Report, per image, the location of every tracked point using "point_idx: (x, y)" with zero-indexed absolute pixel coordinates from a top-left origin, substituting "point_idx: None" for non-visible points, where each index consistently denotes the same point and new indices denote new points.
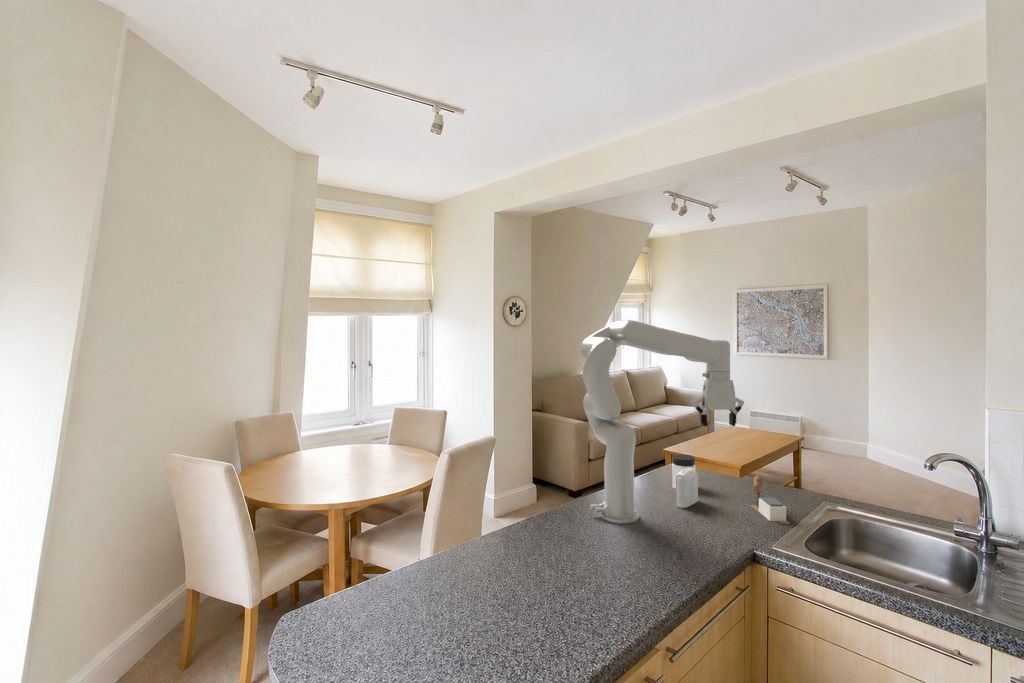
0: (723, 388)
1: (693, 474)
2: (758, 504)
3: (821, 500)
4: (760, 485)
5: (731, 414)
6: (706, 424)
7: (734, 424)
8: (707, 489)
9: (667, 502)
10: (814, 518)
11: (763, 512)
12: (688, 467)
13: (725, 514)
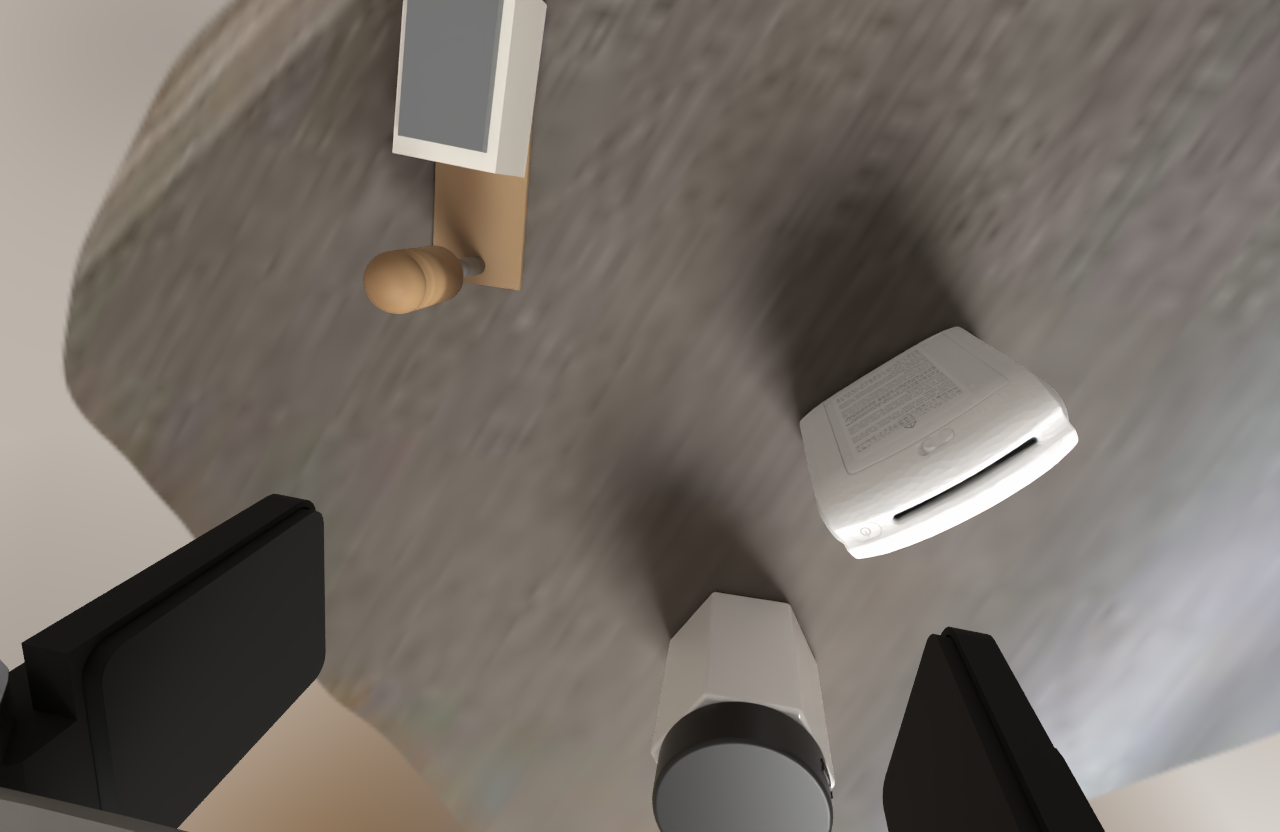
0: None
1: (896, 444)
2: (475, 257)
3: (83, 288)
4: (411, 248)
5: (115, 751)
6: (966, 645)
7: (273, 505)
8: (617, 592)
9: None
10: (257, 22)
11: (527, 102)
12: (747, 696)
13: (751, 183)
